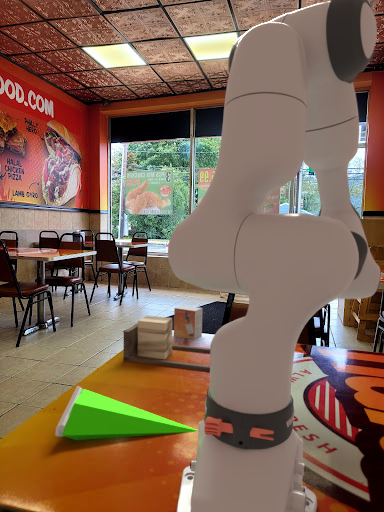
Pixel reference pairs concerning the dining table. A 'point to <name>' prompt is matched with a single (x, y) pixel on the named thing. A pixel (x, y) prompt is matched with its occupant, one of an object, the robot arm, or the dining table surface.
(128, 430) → the paper cone
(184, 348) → the bay
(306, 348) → the dining table surface
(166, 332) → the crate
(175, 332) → the small box
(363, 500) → the dining table surface
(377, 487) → the dining table surface
